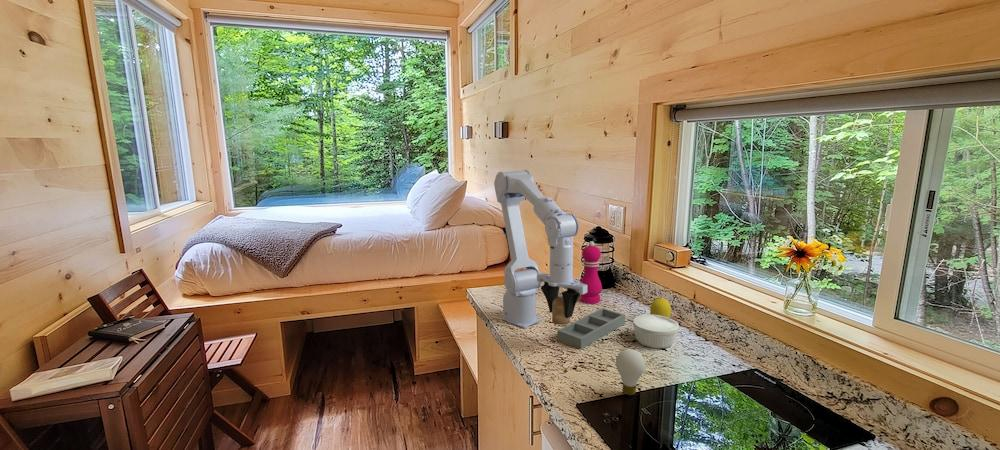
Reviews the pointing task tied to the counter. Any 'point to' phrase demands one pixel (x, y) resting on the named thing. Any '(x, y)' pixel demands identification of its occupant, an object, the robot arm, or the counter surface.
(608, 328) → the tray
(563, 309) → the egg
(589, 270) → the pepper mill
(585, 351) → the counter surface
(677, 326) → the ramekin
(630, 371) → the light bulb
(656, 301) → the lemon
